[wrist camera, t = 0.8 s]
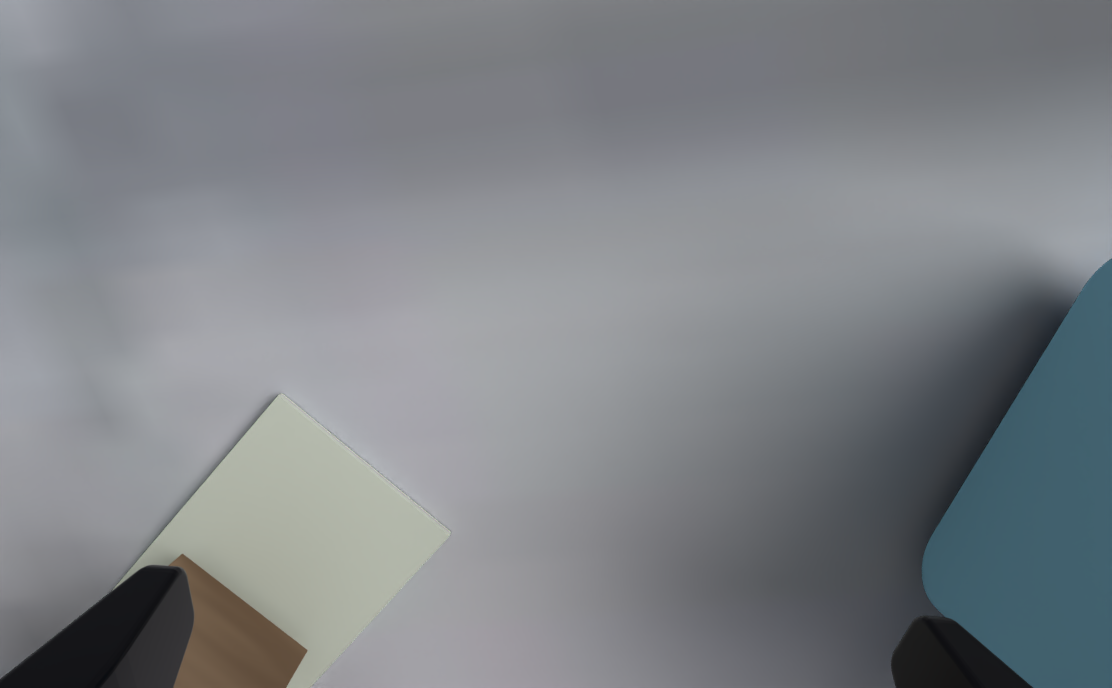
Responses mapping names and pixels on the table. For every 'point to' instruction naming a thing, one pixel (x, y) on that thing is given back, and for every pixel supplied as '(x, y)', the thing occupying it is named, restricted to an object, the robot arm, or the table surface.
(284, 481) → the domino mat
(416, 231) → the table surface
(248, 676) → the walnut domino
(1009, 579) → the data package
